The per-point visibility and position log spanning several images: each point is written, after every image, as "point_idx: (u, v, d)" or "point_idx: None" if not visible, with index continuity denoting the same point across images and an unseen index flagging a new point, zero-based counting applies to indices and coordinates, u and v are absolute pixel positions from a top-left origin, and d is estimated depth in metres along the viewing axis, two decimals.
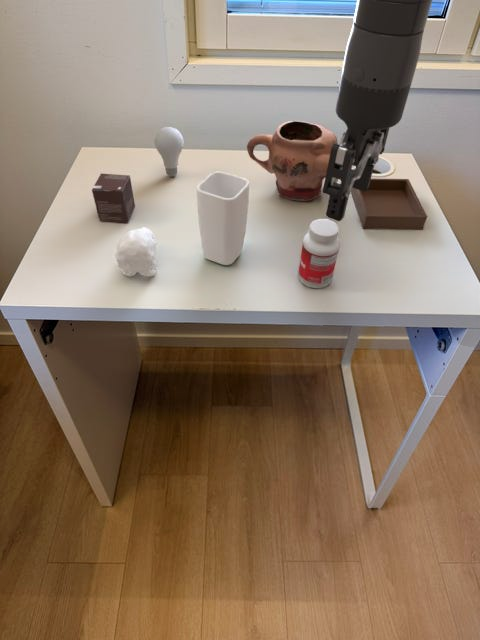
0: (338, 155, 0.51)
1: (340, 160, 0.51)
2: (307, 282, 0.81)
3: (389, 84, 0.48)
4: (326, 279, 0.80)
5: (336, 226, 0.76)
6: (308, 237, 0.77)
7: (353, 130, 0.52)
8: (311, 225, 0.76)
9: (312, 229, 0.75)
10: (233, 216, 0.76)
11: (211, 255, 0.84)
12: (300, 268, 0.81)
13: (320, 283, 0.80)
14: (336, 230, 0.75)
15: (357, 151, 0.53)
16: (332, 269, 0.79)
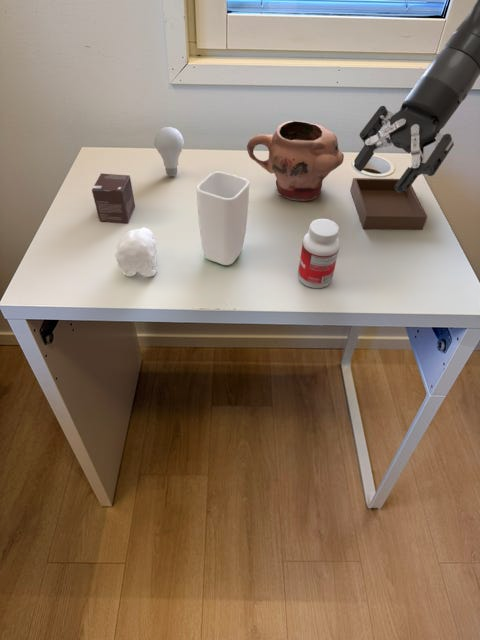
0: None
1: None
2: (307, 282, 0.81)
3: (422, 74, 0.73)
4: (326, 279, 0.80)
5: (336, 226, 0.76)
6: (308, 237, 0.77)
7: None
8: (311, 225, 0.76)
9: (312, 229, 0.75)
10: (233, 216, 0.76)
11: (211, 255, 0.84)
12: (300, 268, 0.81)
13: (320, 283, 0.80)
14: (336, 230, 0.75)
15: (391, 118, 0.76)
16: (332, 269, 0.79)
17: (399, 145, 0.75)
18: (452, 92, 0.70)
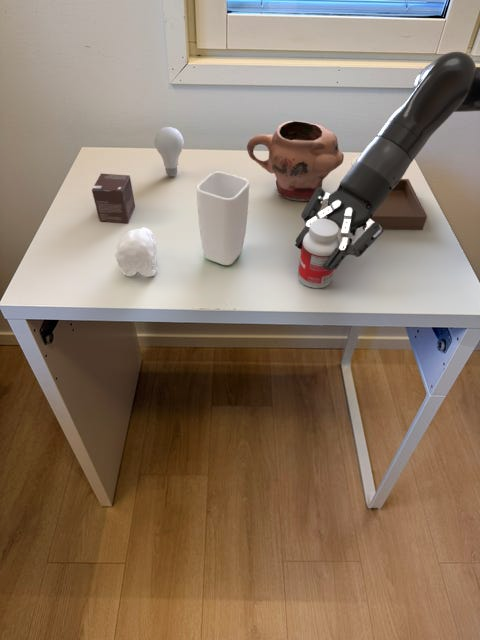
0: None
1: None
2: (307, 282, 0.81)
3: None
4: (326, 279, 0.80)
5: (336, 226, 0.76)
6: (308, 237, 0.77)
7: None
8: (311, 225, 0.76)
9: (312, 229, 0.75)
10: (233, 216, 0.76)
11: (211, 255, 0.84)
12: (300, 268, 0.81)
13: (320, 283, 0.80)
14: (336, 230, 0.75)
15: (328, 197, 0.78)
16: (332, 269, 0.79)
17: None
18: (383, 180, 0.72)
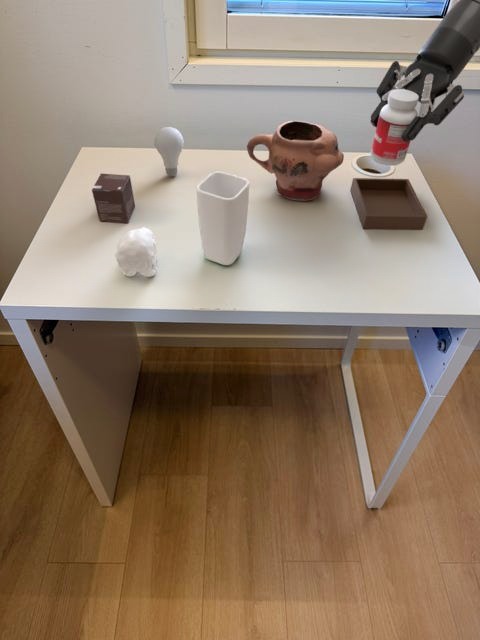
0: None
1: None
2: (382, 159, 0.81)
3: (438, 25, 0.75)
4: (401, 154, 0.81)
5: (415, 94, 0.76)
6: (386, 107, 0.77)
7: None
8: (390, 93, 0.76)
9: (392, 96, 0.75)
10: (233, 216, 0.76)
11: (211, 255, 0.84)
12: (375, 145, 0.81)
13: (395, 159, 0.81)
14: (416, 97, 0.75)
15: (405, 70, 0.78)
16: (408, 143, 0.80)
17: None
18: (466, 42, 0.72)
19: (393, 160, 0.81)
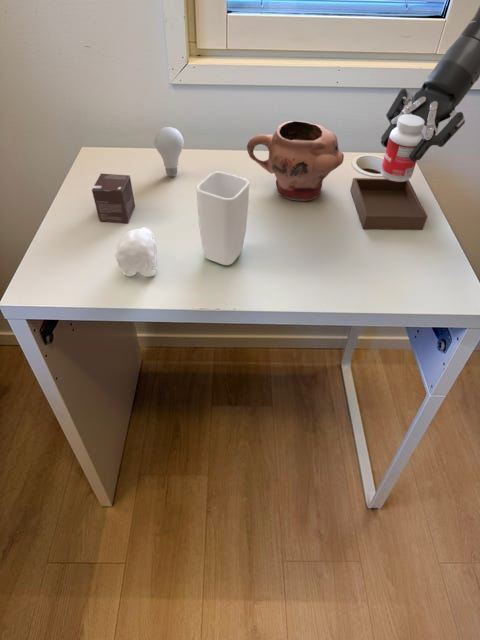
0: None
1: None
2: (391, 176, 0.90)
3: (441, 58, 0.84)
4: (409, 172, 0.90)
5: (422, 119, 0.85)
6: (395, 131, 0.86)
7: None
8: (399, 118, 0.85)
9: (401, 121, 0.84)
10: (233, 216, 0.76)
11: (211, 255, 0.84)
12: (385, 163, 0.90)
13: (403, 176, 0.90)
14: (422, 122, 0.84)
15: (412, 96, 0.88)
16: (415, 162, 0.89)
17: None
18: (467, 73, 0.82)
19: (401, 177, 0.90)
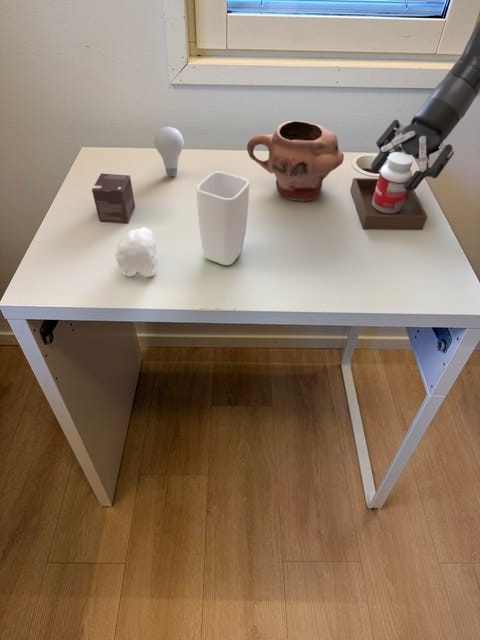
0: None
1: None
2: (382, 208, 0.96)
3: (430, 95, 0.89)
4: (398, 205, 0.95)
5: (410, 157, 0.91)
6: (386, 167, 0.92)
7: None
8: (389, 156, 0.91)
9: (391, 159, 0.90)
10: (233, 216, 0.76)
11: (211, 255, 0.84)
12: (376, 196, 0.96)
13: (393, 209, 0.95)
14: (411, 160, 0.90)
15: (402, 130, 0.92)
16: (404, 196, 0.94)
17: (409, 152, 0.92)
18: (453, 111, 0.86)
19: (391, 210, 0.96)
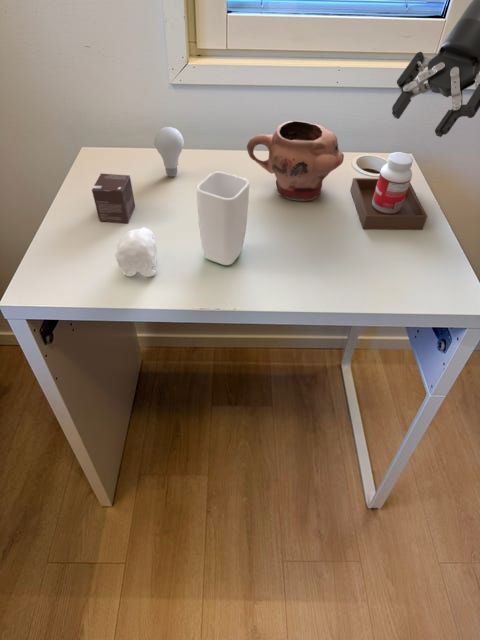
0: None
1: None
2: (382, 208, 0.96)
3: (460, 17, 0.74)
4: (398, 205, 0.95)
5: (410, 157, 0.91)
6: (386, 167, 0.92)
7: None
8: (389, 156, 0.91)
9: (391, 159, 0.90)
10: (233, 216, 0.76)
11: (211, 255, 0.84)
12: (376, 196, 0.96)
13: (393, 209, 0.95)
14: (411, 160, 0.90)
15: (428, 63, 0.77)
16: (404, 196, 0.94)
17: (438, 89, 0.77)
18: None
19: (391, 210, 0.96)
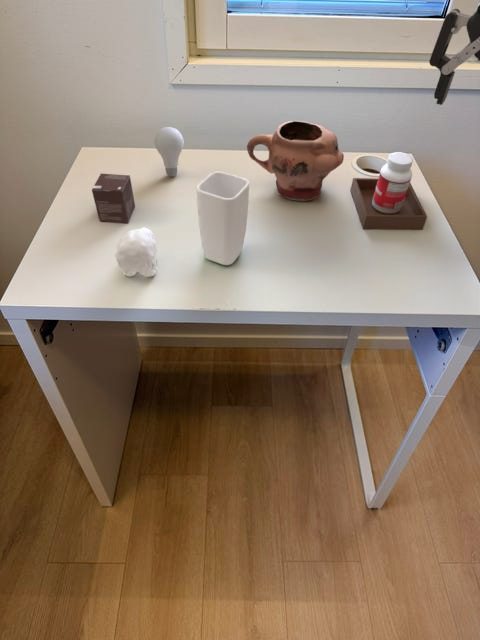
0: None
1: None
2: (382, 208, 0.96)
3: None
4: (398, 205, 0.95)
5: (410, 157, 0.91)
6: (386, 167, 0.92)
7: (478, 6, 0.55)
8: (389, 156, 0.91)
9: (391, 159, 0.90)
10: (233, 216, 0.76)
11: (211, 255, 0.84)
12: (376, 196, 0.96)
13: (393, 209, 0.95)
14: (411, 160, 0.90)
15: (467, 28, 0.56)
16: (404, 196, 0.94)
17: None
18: None
19: (391, 210, 0.96)
